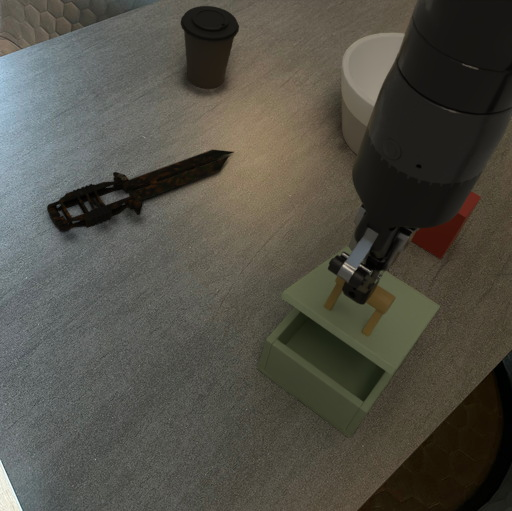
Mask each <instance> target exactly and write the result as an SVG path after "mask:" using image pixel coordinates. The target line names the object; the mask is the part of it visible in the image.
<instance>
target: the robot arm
mask: <svg viewBox="0 0 512 511" xmlns="http://www.w3.org/2000/svg"><path fill="white" fill-rule="evenodd" d="M404 33H405V35H404V38H403V41H402V43H401V46H400V49H399V52H398V54H397V56H396V59H395V61H394V63H393V65H392V67H391V69H390V70H389V72H388V74H387V76H386V78H385V80H384V82H383V84H382V86H381V89H380V91H379V94H378V97H377V100H376V103H375V106H374V108H373V111H372V114H371V117H370V120H369V123H368V125H367V128H366V131H365V134H364V137H363V140H362V142H361V145H360V148H359V151H358V154H357V155H356V156H355V159H354V162H353V165H352V170H351V177H352V178H351V180H352V184H353V187H354V190H355V192H356V194H357V195H358V197H359V200H360V202H361V203H362V204H361V205H360V207H359V208H358V210H357V212H356V214H355V216H354V220H353V223H354V225H355V227H354V230H353V232H352V235H351V238H350V241H349V243H348V247H349V248H350V249H351V251H352V252H351V254H350V255H349V254H348V253H346V252H344V251H343V252H342V253H341V255H340V256H339V255H336V256H335V257H334V258H332V259H331V261H330V262H329V264H330V265H329V267H328V270H329V271H331V272H332V273H334V274H335V275H337V276H338V277H340V278H341V279H343V280H344V281H345V283H344V285H343V288H342V291H343V294H344V295H346V296H347V297H349V298H350V299H352V300H353V301H355V302H356V303H359V304H361V305H363V304H365V303H366V301H367V300H368V299H369V298H370V296H371V295H372V294H373V293H374V291H375V289H376V287H377V285H378V283H379V281H380V279H381V278H382V276H383V273H384V271H387V272H388V271H389V270H390V268H391V267H393V265H394V264H395V263H396V261H397V260H398V258H399V256H400V255H401V254H402V253H403V252H404V251H405V250H406V249H407V248H408V247H409V245H411V244H410V243H411V242H412V241H411V240H412V238H413V236H414V234H415V233H416V231H418V230H419V229H420V228H430V227H435V226H439V225H442V224H444V223H446V222H448V221H449V220H451V219H452V218H453V217H454V216H456V214H457V213H458V212H459V211H460V209H461V208H462V206H463V204H464V202H465V201H466V199H467V197H468V196H469V194H470V192H471V191H473V189H474V187H475V185H476V184H477V182H478V181H479V179H480V177H481V175H482V174H483V172H484V170H485V168H486V166H488V163H489V161H490V160H491V158H492V156H493V154H494V153H495V152H496V150H497V148H498V146H499V144H500V143H501V141H502V139H503V138H504V136H505V134H506V132H507V129H508V127H509V124H510V123H511V122H510V121H511V119H512V0H416V2H415V5H414V7H413V10H412V13H411V16H410V19H409V22H408V24H407V27H406V29H405V32H404Z"/></svg>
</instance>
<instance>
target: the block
mask: <svg viewBox="0 0 512 511" xmlns="http://www.w3.org/2000/svg"><path fill="white" fill-rule="evenodd" d="M481 198H482V196H481V195H479V194H477V193H475V192H474V191H473V190H471V192H470V194H469V196H468V197H467V199H466V201H465V202H464V204H463V206H462V208H461V209H460V211H459V212H458V213H457V214H456V216H454V217H453V218H452V219H451V220H449V221H448V222H446V223H444V224H442V225H439V226H435V227H430V228H420V229H419V230H418V231H416V233H415V234H414V236H413V238H412V240H411V242H412V243H414V244H416V245H417V246H418V247H420V248H422V249H423V250H425V251H427V252H428V253H430V254H431V255H433V256H435V257H436V258H437V259H440V260H442V258H443V257H445V256H444V255H445V254H446V253H447V252H448V250H449V249H450V247H452V245H453V243H454V242H455V241H456V239H457V238H458V236H459V235H460V233H461V232H462V229H463V228H464V227H465V225H466V223H467V222H468V220H469V218H470V217H471V215H472V213H473V212H474V210H475V209H476V207H477V205H478V204H479V202H480V200H481Z"/></svg>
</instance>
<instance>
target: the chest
mask: <svg viewBox="0 0 512 511" xmlns="http://www.w3.org/2000/svg"><path fill="white" fill-rule="evenodd" d="M430 323H431V321H430V322H429V324H430ZM429 324H428V325H427V327H428V326H429ZM427 327H426V328H425V329H424V331H423V332H422V334H421V335H420V337H419V338H418V339H417V341H416V342H415V344H414V345H413V347H412V348H411V349H410V351H409V352H408V354H407V355H406V357H405V358H404V359H403V361H402V362H401V364H400V365H399V367H398V368H397V369H396V371H395V372H394V374H393V375H391V374H389V373H388V372H387V371H385V370H384V369H382V368H381V367H379V366H378V365H377V364H375V363H374V362H372V361H371V360H369V359H368V358H366V357H365V356H364V355H362V354H361V353H359V352H358V351H356V350H355V349H354V348H352V347H351V346H349V345H348V344H346V343H345V342H344V341H342V340H341V339H339V338H338V337H336V336H335V335H334V334H332V333H331V332H329V331H328V330H326V329H325V328H324V327H322V326H321V325H319V324H318V323H316V322H315V321H314V320H312V319H311V318H309V317H308V316H306V315H305V314H303V313H302V312H301V311H299V310H298V309H296V308H295V307H293V308H292V309H291V310H290V312H289V313H288V314H287V315H286V316H285V317H284V319H282V321H280V322H279V324H278V325H277V326H276V327H275V328H274V330H273V331H272V332H271V333H270V334H269V335H268V336H267V337H266V339H265V341H264V345H263V347H262V352H261V354H260V359H259V362H258V366H257V370H258V371H259V372H260V373H262V374H263V375H264V376H265V377H267V378H268V379H270V380H271V381H272V382H274V384H276V385H277V386H279V387H280V388H282V389H283V390H284V391H286V392H287V393H289V394H290V395H291V396H293V397H294V398H295V399H296V400H298V401H299V402H301V403H302V404H303V405H304V406H305V407H307V408H309V409H310V410H311V411H312V412H314V413H315V414H316V415H318V416H319V417H320V418H322V419H323V420H325V421H326V422H327V423H328V424H329V425H331V426H333V427H334V428H335V429H336V430H338V431H340V432H341V433H342V435H343V434H344V435H345V436H346V437H347V438H348V439H351V438H352V436H353V435H354V434H355V432H356V431H357V429H358V428H359V426H360V425H361V424H362V422H363V421H364V419H365V417H366V416H367V415H368V413H369V412H370V410H371V409H372V408H373V406H374V405H375V403H376V402H377V400H378V399H379V397H380V396H381V395H382V393H383V392H384V390H385V389H386V387H387V386H388V385H389V383H390V381H391V380H392V378H393V377H394V376H395V374H396V372H397V371H398V370H399V369H400V367H401V365H402V364H403V362H404V361H405V360H406V358H407V356H408V355H409V354H410V352H411V351H412V349H413V348H414V346H415V345H416V343H417V342H418V341H419V339H420V338H421V336H422V335H423V333H424V332H425V331H426V329H427Z"/></svg>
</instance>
